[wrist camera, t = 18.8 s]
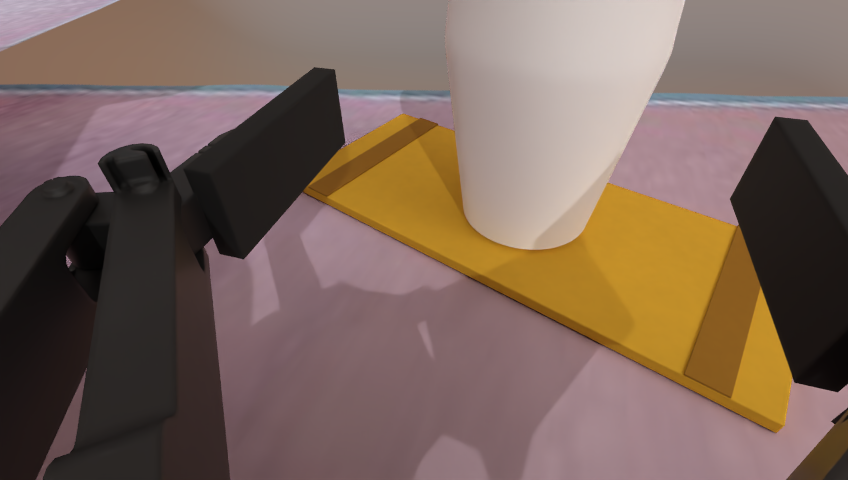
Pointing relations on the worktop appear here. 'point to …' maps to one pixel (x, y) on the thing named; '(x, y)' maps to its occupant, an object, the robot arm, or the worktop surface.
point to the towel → (586, 267)
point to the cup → (548, 106)
